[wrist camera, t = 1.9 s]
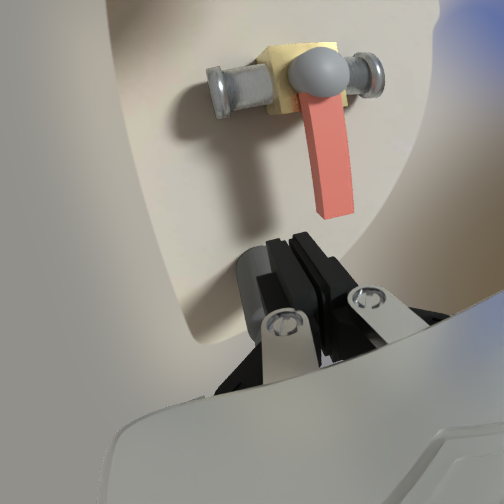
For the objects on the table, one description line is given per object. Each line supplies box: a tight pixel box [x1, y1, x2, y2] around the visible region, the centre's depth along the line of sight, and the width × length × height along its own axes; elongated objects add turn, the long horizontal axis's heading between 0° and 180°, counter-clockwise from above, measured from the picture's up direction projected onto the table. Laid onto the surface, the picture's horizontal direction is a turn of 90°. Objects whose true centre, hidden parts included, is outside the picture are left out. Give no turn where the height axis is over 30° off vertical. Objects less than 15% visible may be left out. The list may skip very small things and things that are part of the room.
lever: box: [288, 47, 354, 220], centre depth 22 cm, size 14×4×3 cm, turn 11°
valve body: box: [206, 42, 385, 120], centre depth 23 cm, size 6×16×6 cm, turn 101°
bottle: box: [236, 246, 272, 346], centre depth 29 cm, size 6×6×15 cm
